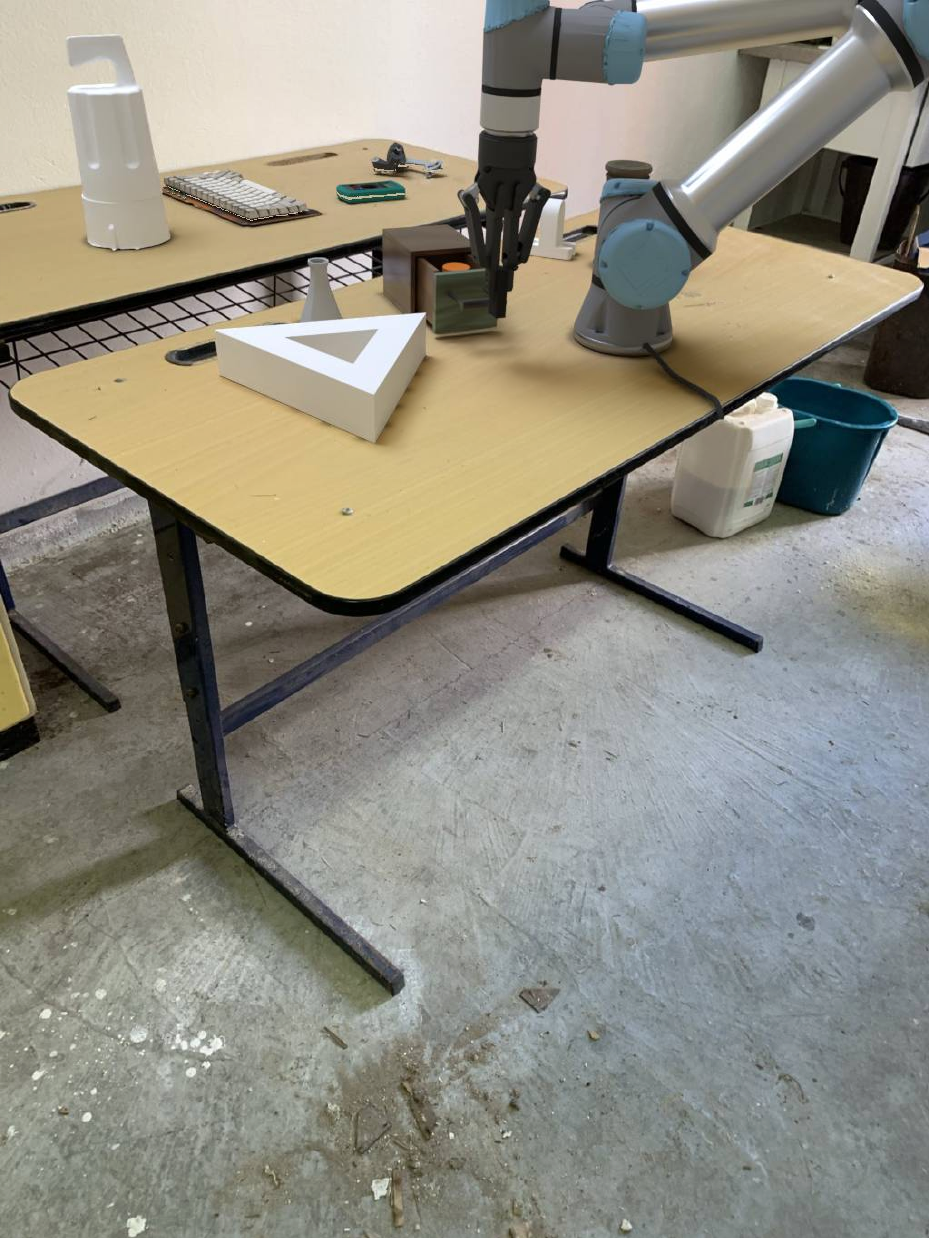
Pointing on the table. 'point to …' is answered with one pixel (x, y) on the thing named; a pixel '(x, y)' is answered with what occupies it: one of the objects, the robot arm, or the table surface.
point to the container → (627, 170)
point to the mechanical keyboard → (235, 197)
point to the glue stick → (455, 267)
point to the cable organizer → (553, 233)
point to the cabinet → (402, 252)
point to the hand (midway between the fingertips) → (496, 315)
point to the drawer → (452, 293)
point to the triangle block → (329, 366)
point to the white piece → (115, 151)
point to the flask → (319, 294)
